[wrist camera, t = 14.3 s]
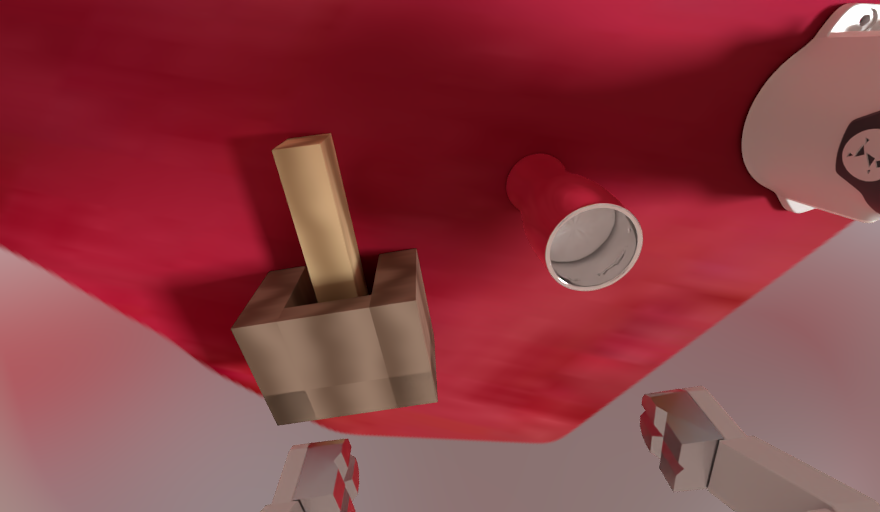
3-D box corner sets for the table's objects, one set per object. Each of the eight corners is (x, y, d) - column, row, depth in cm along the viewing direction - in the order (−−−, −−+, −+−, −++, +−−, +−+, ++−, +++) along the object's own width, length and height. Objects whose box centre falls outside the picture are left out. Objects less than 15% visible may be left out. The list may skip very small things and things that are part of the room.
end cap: (416, 248, 43) (415, 300, 34) (434, 337, 49) (437, 402, 40) (269, 271, 43) (230, 328, 35) (303, 357, 49) (277, 425, 40)
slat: (331, 132, 38) (320, 143, 33) (369, 295, 46) (364, 322, 41) (288, 138, 38) (271, 150, 33) (334, 299, 46) (325, 326, 41)
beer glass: (488, 174, 40) (524, 238, 26) (551, 133, 38) (623, 179, 25) (522, 228, 43) (569, 310, 29) (582, 191, 41) (661, 260, 28)
